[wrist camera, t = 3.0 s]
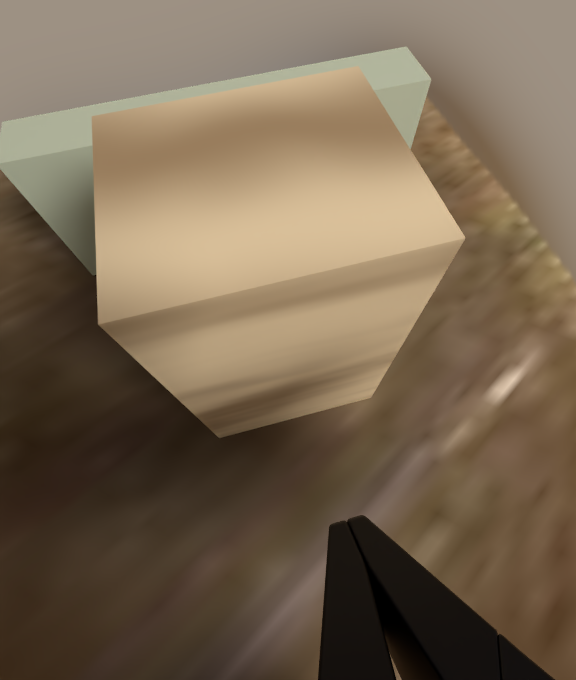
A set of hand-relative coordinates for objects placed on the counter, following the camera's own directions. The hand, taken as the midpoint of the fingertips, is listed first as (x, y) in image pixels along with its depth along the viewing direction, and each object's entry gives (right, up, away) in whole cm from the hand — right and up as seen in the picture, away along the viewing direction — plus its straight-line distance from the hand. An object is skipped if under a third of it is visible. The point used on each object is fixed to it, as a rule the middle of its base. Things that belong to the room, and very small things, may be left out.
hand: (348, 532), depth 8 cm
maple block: (-2, +4, +12) cm, 12 cm away
